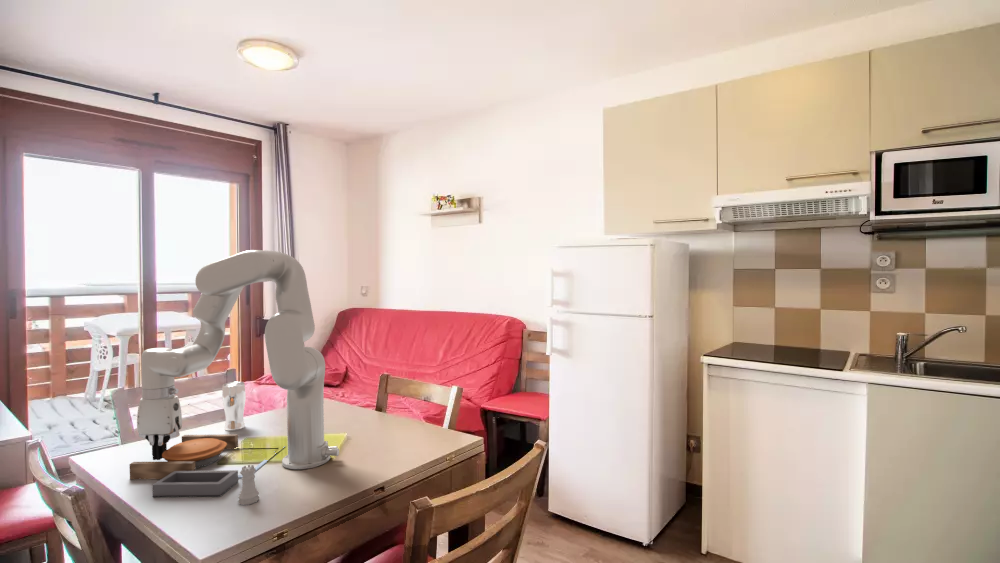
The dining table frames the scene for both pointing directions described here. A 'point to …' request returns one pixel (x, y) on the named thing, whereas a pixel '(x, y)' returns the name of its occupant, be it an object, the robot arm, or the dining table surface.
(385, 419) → the dining table surface
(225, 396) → the beer glass
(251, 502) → the rook chess piece
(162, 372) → the robot arm
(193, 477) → the grey tray
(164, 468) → the channel walls
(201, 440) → the pie
